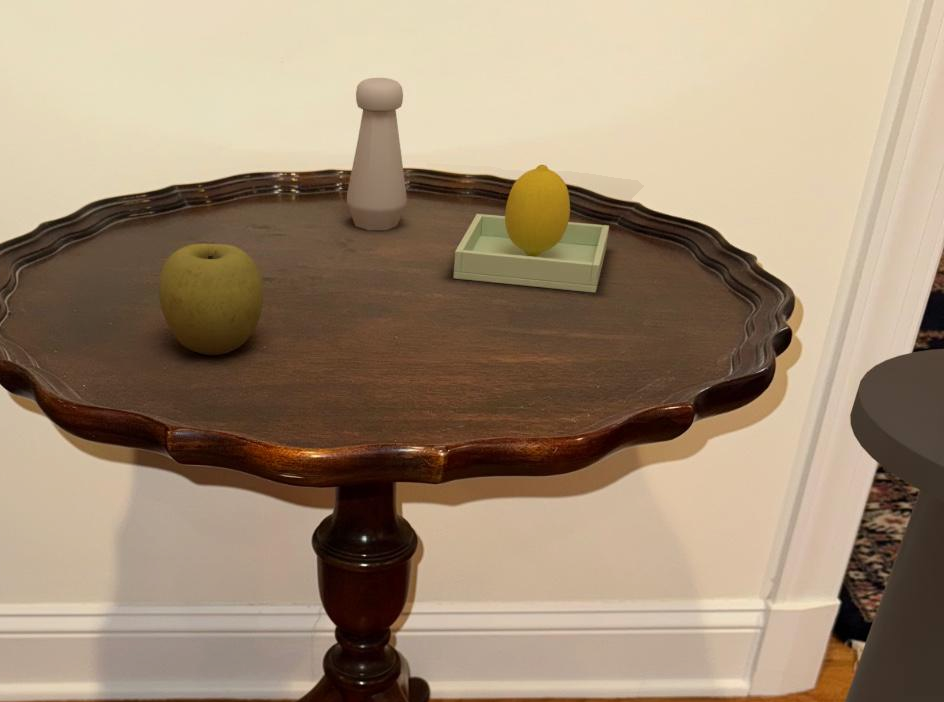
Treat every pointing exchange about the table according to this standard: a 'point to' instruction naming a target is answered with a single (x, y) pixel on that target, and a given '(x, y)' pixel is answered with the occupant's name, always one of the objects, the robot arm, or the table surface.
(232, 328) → the apple
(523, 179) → the lemon
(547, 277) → the dish
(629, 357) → the table surface
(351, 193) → the salt shaker
